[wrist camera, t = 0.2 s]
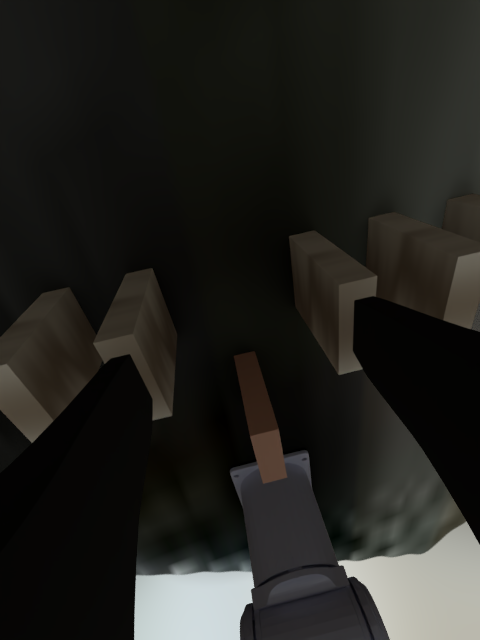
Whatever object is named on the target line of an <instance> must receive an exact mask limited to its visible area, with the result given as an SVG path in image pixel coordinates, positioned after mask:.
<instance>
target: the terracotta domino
mask: <svg viewBox="0 0 480 640" xmlns="http://www.w3.org/2000/svg"><path fill="white" fill-rule="evenodd" d="M234 359H235V364H236V369H237V374H238V379H239V384H240V389H241V394H242V399H243V403H244V408H245V413H246V418H247V423H248V428H249V433H250V437H251V441H252V445H253V449H254V452H255V456H256V460H257V463H258V467H259V471H260V475H261V478H262V482H263V484H264V483H268V482H272V481H276V480H280V479H284V478H287V473H286V468H285V462H284V456H283V451H282V445H281V439H280V434H279V429H278V425H277V422H276V419H275V416H274V412H273V409H272V406H271V403H270V399H269V396H268V393H267V390H266V386H265V383H264V380H263V377H262V373H261V370H260V367H259V364H258V360H257V357H256V354H255V351H252V352H248V353H244V354H240V355H236V356H234Z"/></svg>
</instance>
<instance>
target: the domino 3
mask: <svg viewBox="0 0 480 640" xmlns="http://www.w3.org/2000/svg"><path fill="white" fill-rule="evenodd" d="M289 243H290V253H291V264H292V275H293V286H294V296H295V307H296V308H297V310H298V311H299V313H300V314H301V316H302V318H303V319H304V321H305V322H306V324H307V326H308V327H309V329H310V330H311V332H312V333H313V335H314V337H315V338H316V340H317V341H318V343H319V345H320V346H321V348H322V349H323V351H324V352H325V354H326V356H327V357H328V359H329V360H330V362H331V364H332V365H333V367H334V368H335V370H336V371H337V373H338V375H341V374H345V373H349V372H353V371H357V370H361V369H363V368H362V367H361V365H360V363H359V361H358V359H357V358H356V356H355V354H354V352H353V324H354V300H358V299H362V298H367V297H371V296H375V297H376V286H377V275H375V274H374V273H373V272H371V271H370V270H368V269H367V268H366V267H364V266H363V265H362V264H360V263H359V262H357V261H356V260H355V259H353V258H352V257H351V256H349V255H348V254H346V253H345V252H344V251H342V250H341V249H340V248H338V247H337V246H335V245H334V244H333V243H331V242H330V241H329V240H327V239H326V238H324V237H323V236H322V235H320V234H319V233H318V232H316V231H315V230H314V231H309V232H305V233H301V234H296V235H292V236H289Z"/></svg>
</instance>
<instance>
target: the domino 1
mask: <svg viewBox="0 0 480 640" xmlns="http://www.w3.org/2000/svg"><path fill="white" fill-rule="evenodd" d="M96 336H97V335H96V333H95V332H94V330H93V328H92V326H91V324H90V323H89V321H88V319H87V317H86V316H85V314H84V312H83V310H82V309H81V307H80V305H79V303H78V301H77V300H76V298H75V296H74V294H73V293H72V291H71V289H70V287H67V288H63V289H59V290H54V291H50V292H46V293H42V294H41V295H40V296H39V297H38V299H37V300H36V301H35V302H34V303H33V304H32V305H31V306H30V307H29V308H28V309H27V310H26V311H25V312H24V313H23V314H22V315H21V316H20V317H19V318H18V319H17V320H16V321H15V323H14V324H13V325H12V326H11V327H10V328H9V329H8V330H7V331H6V332H5V333H4V334H3V335H2V336H1V337H0V410H1V411H2V412H3V413H4V414H5V415H6V416H7V417H8V418H9V419H10V420H11V421H12V422H13V423H14V425H15V426H16V427H17V428H18V429H19V430H20V431H21V432H22V433H23V434H24V435H25V436H26V437H27V438H28V439H29V440H30V441H31V442H32V443H33V442H34V441H35V440H36V439H37V438H38V436H39V435H40V434H41V433H42V432H43V431H44V430H45V429H46V428H47V427H48V426H49V425H50V424H51V423H52V422H53V421H54V420H55V419H56V418H57V417H58V416H59V415H60V414H61V412H62V411H63V410H64V409H65V408H66V407H67V406H68V405H69V404H70V402H71V401H72V400H73V399H74V398H75V397H76V396H77V395H78V393H79V392H80V391H81V390H82V389H83V388H84V387H85V386H86V384H87V383H88V382H89V381H90V380H91V379H92V378H93V377H94V375H95V374H96V373H97V372H98V370H99V367H100V365H101V362H102V358H101V356H100V355H99V353H98V351H97V349H96V348H95V346H94V344H93V342H94V340H95V338H96Z"/></svg>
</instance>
